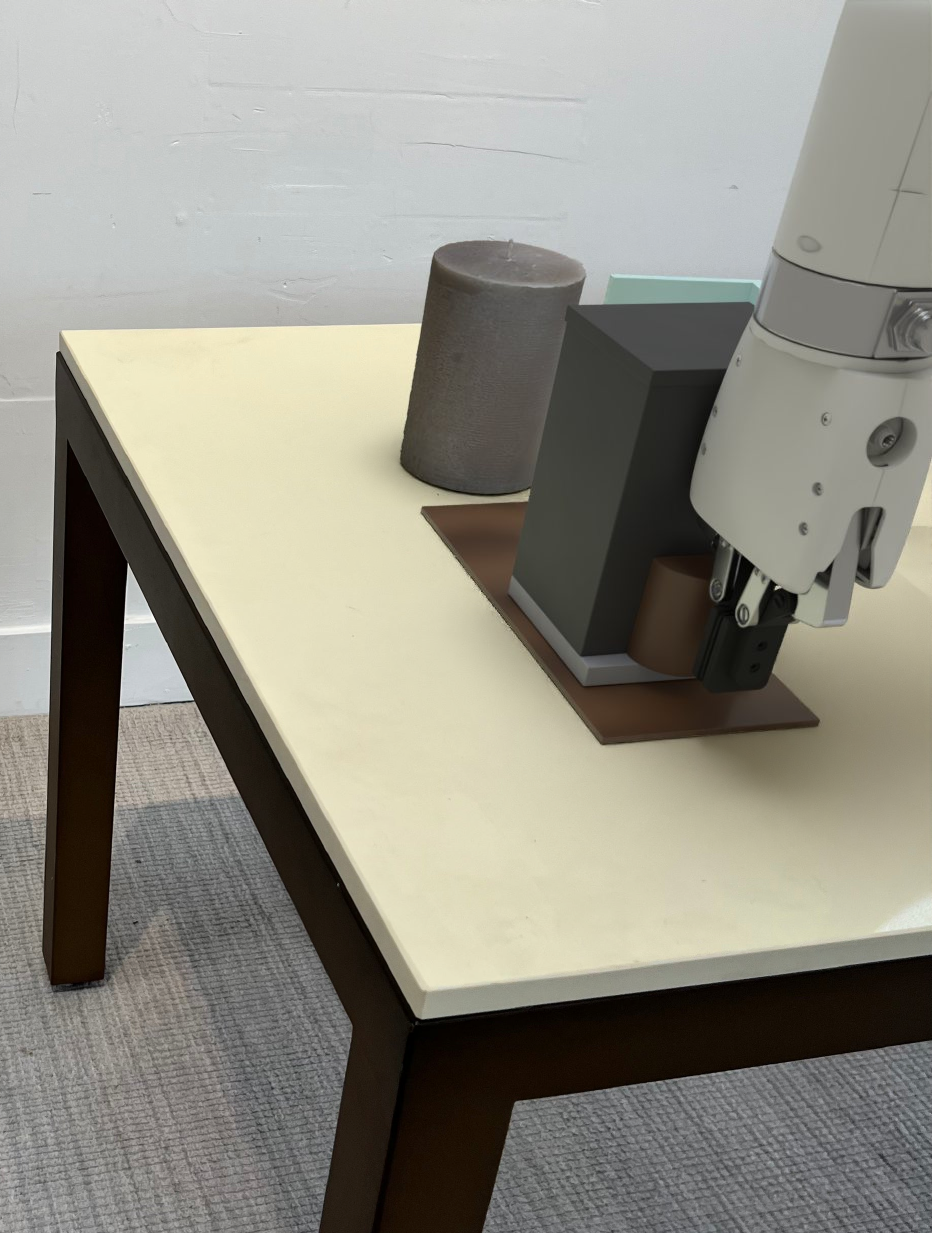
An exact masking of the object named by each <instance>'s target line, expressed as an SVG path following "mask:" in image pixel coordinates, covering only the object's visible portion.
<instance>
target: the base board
mask: <svg viewBox="0 0 932 1233" xmlns="http://www.w3.org/2000/svg"><path fill="white" fill-rule="evenodd" d="M527 504H528V500H527V501H526V500H525V501H506V502H487V503H485V502H483V503H465V504H463V503H462V504H444V505H441V504H440V505H422V506H421V508H420V513H421V514H422V515H423V517H424V518H425V519H426V520H427V522H428V523H429V524H430V526H431V527H432V528H433V529H434V531H435V532H436V533H437V535H438V536H439V538H441V540H442V541H443V542H444V544H446V546H447V547H448V549H449V550H450V551H451V553H452V554H453V555H454V556H455V558H456V559H457V560H458V561H459V563H460V564H461V565H462V568H464V569H465V571H466V572H467V573H468V574H469V576H470V577H471V579H473V581H474V582H475V584H476V585H477V586H478V587H479V589H480V590H481V591H482V592H483V593H484V595H485V596H486V598H487V599H488V600H489V601H490V603H491V604H492V605H493V607H495V609H496V610H497V612H498V613H499V614H500V615H501V617H502V618H503V620H504V621H505V622H506V623H507V624H508V626H509V627H510V628H511V630H512V631H513V632H514V634H515V635H516V636H517V637H518V639H519V640H520V641H521V642H522V644H523V645H524V646H525V647H526V649H527V650H528V652H529V653H530V654H531V655H532V657H533V658H534V659H535V660H536V662H537V663H538V664H539V666H540V667H541V668H542V670H543V671H544V672H545V673H546V675H547V676H548V677H549V679H550V680H551V681H552V682H553V684H554V685H555V686H556V687H557V689H558V690H559V691H560V692H561V694H562V696H564V698H565V699H566V700H567V702H568V703H569V704H570V705H571V707H572V708H573V709H574V710H575V712H576V713H577V715H579V717H580V718H581V719H582V721H583V722H584V723H585V725H586V726H587V727H588V728H589V730H590V731H591V732H592V734H593V735H594V736H595V737H596V739H597V740H598V741H599V742H600V744H601V745H606V744H617V743H629V742H641V741H643V742H644V741H654V740H666V739H676V738H677V739H678V738H689V737H701V736H713V735H725V734H726V735H727V734H736V733H737V734H738V733H749V732H751V733H752V732H763V731H776V730H786V729H797V728H799V729H800V728H809V727H810V728H811V727H819V725H820V723H821V719H820V717H818V716H817V715H816V713H814V712H813V711H812V710H811V709H810V708H809V706H808V705H806V704H805V703H804V702H803V701H802V700H801V699H800V698H799V697H798V696H797V695H796V694H795V693H794V692H793V691H792V690H791V689H790V688H789V687H788V686H787V685H786V684H785V683H784V682H783V681H782V680H781V679H780V678H779V677H778V676H777V675H775V673H774V672H773V671H772V672H771V675H770V678H769V681H768V683H767V685H766V686H765V687H764V688H762V689H760V690H750V691H737V692H725V693H710V692H709V691H708V690H707V689H706V688H705V687H704V686H703V682H701V681H698V680H697V679H696V678H691V679H678V680H664V681H651V682H637V683H624V684H610V685H597V686H583V685H582V684H581V683H580V681H579V680H578V679H577V678H576V676H575V675H574V674H573V673H572V671H571V670H570V669H569V668H568V667H567V665H566V664H565V663H564V662H563V660H562V659H561V658H560V657H559V655H558V654H557V653H556V652H555V650H554V649H553V648H552V647H551V645H550V644H549V643H548V642H547V640H546V639H545V638H544V637H543V636H542V634H541V633H540V632H539V631H538V629H537V628H536V627H535V626H534V624H533V623H532V622H531V621H530V619H529V618H528V617H527V616H526V614H525V613H524V612H523V611H522V609H521V608H520V607H519V606H518V605H517V603H516V602H515V601H514V600H513V598H512V597H511V596H510V595H509V593H508V591H509V586H510V582H511V577H512V575H513V574H512V573H513V568H514V564H515V559H516V554H517V550H518V545H519V541H520V536H521V531H522V527H523V522H524V518H525V513H526V508H527Z"/></svg>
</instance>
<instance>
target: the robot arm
mask: <svg viewBox="0 0 932 1233" xmlns="http://www.w3.org/2000/svg"><path fill="white" fill-rule="evenodd" d="M837 21H838V22H837V25H836V28H835V32H834V35H833V37H832V42H831V45H830V49H829V52H828V55H827V58H826V62H825V65H824V69H823V72H822V76H821V79H820V82H819V86H818V89H817V93H816V95H815V100H814V103H813V106H812V109H811V113H810V116H809V120H808V124H807V126H806V130H805V133H804V137H803V141H802V143H801V147H800V150H799V153H798V157H797V160H796V164H795V167H794V171H793V175H792V178H791V180H790V184H789V189H788V190H787V195H786V198H785V202H784V205H783V208H782V212H781V216H780V218H779V222H778V226H777V229H776V233H775V235H774V239H773V245H772V246H771V249H770V252H769V255H768V259H767V263H766V266H765V270H764V273H763V276H762V279H761V280H762V282H761V286H760V289H759V293H758V296H757V299H756V303H755V306H754V310H753V314H752V316H751V318H750V320H749V322H748V324H747V326H746V328H745V330H744V332H743V334H742V337H741V339H740V341H739V343H738V346H737V348H736V350H735V352H734V354H733V357H732V359H731V362H730V364H729V366H728V369H727V371H726V374H725V376H724V379H723V381H722V384H721V387H720V389H719V392H718V395H717V397H716V400H715V403H714V405H713V408H712V411H711V414H710V417H709V420H708V423H707V425H706V429H705V432H704V435H703V438H702V442H701V445H700V448H699V452H698V455H697V459H696V463H695V467H694V472H693V476H692V481H691V488H690V500H691V503H692V505H693V507H694V509H695V510H696V512H697V513H698V517H697V522H698V524H699V526H700V528H701V529H702V531H703V532H704V534H705V536H706V537H707V539H708V540H709V542H710V543H711V545H712V551H713V557H714V566H713V571H712V576H711V580H710V585H709V594H710V597H711V599H712V600H713V601H714V602H718V605H712V608H711V611H710V615H709V618H708V621H707V624H706V627H705V630H704V634H703V637H702V640H701V643H700V646H699V649H698V653H697V656H696V659H695V662H694V665H693V668H692V674H693V675H694V676H695V677H696V679H697V680H698V681H701V682H703V686H704V687H705V688H706V689H707V690H708V691H709V692H710V693H725V692H737V691H750V690H760V689H762V688H764V687H765V686H766V685H767V683H768V681H769V678H770V675H771V672H772V673H773V669H774V666H775V663H776V661H777V658H778V655H779V653H780V650H781V647H782V644H783V641H784V639H785V636H786V632H787V630H788V627H789V625H796V624H799V623H803V624H805V625H807V626H809V627H812V628H814V629H822V628H823V629H825V628H840V627H844V626H845V625H846V623H847V622H848V618H849V614H850V610H851V603H852V599H853V598H852V597H853V593H854V587H855V584H857V585H858V586H860V587H863V588H865V589H868V590H879V589H883V588H884V587H886V585H888V583H889V582H890V580H891V579H892V576H893V575H894V573H895V570H896V568H897V565H898V563H899V561H900V558H901V556H902V553H903V550H904V547H905V545H906V542H907V540H908V536H909V534H910V531H911V528H912V525H913V521H914V519H915V515H916V512H917V510H918V507H919V503H920V501H921V497H922V494H923V490H924V487H925V483H926V480H927V476H928V473H929V470H930V466H931V463H932V0H845V1H844V4H843V7H842V10H841V13H840V16H839V18H838V20H837ZM776 587H779V588H776Z"/></svg>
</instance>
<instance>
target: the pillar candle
mask: <svg viewBox="0 0 932 1233" xmlns="http://www.w3.org/2000/svg"><path fill="white" fill-rule="evenodd" d="M583 265H584V263H582V262H581V261H580V260H579V259H576V258H573V257H569V256H567V255H566V254H563V253H560V252H557V251H554V250H551V249H547V248H545V247H541V246H536V245H531V244H527V243H522V242H515V241H514V238H509V240H508V241H506V240H488V239H486V240H485V239H484V240H483V239H482V240H481V239H480V240H479V239H478V240H462V241H456V242H450V243H446V244H444V245H441V246H440V247H438V248H437V249H436V250H434V252H433V255H432V258H431V263H430V267H429V268H430V269H429V276H428V281H427V288H426V293H425V301H424V307H423V313H422V321H421V326H420V332H419V338H418V345H417V348H416V355H415V356H416V358H415V363H414V364H415V365H414V370H413V375H412V380H411V386H410V388H411V389H410V391H409V398H408V399H409V400H408V405H407V413H406V420H405V422H404V428H403V432H402V433H403V437H402V442H401V446H400V448H401V449H400V450H399V452H400V457H399V460H400V462H401V464H402V465H403V467H404V468H405V469H406V470H407V471H408V472H409V473H411V475H413V476H415V477H418V479H420V480H421V481H424V482H426V483H429V484H431V485H434V486H438V487H441V488H445V489H448V490H453V491H457V492H461V493H462V492H463V493H468V494H469V493H470V494H481V495H496V494H497V495H499V494H511V493H515V492H518V491H524V490H526V489H528V488H531V485H532V481H533V476H534V471H535V467H536V462H537V458H538V453H539V448H540V444H541V439H542V435H543V430H544V425H545V421H546V416H547V412H548V407H549V402H550V398H551V393H552V389H553V384H554V379H555V375H556V370H557V366H558V361H559V356H560V352H561V347H562V342H563V338H564V333H565V329H566V324H567V322H566V321H565V320H564V319H565V315H566V310H567V306H568V305H580V301H581V297H582V293H583V288H584V285H585V281H586V278H587V271H586V269H585V268H584V266H583Z"/></svg>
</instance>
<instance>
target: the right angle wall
mask: <svg viewBox="0 0 932 1233" xmlns="http://www.w3.org/2000/svg"><path fill="white" fill-rule="evenodd" d="M761 282H762V279H749V278H748V279H747V278H745V279H744V278H724V277H723V278H721V277H698V276H673V275H671V276H668V275H646V274H645V275H643V274H624V273H623V274H620V273H610V274H609V277H608V282H607V286H606V291H605V294H604V298H603V299H604V300H603V304H656V303H711V302H750V303H752V304H753V305H755V303H756V299H757V296H758V293H759V289H760V286H761Z"/></svg>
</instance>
